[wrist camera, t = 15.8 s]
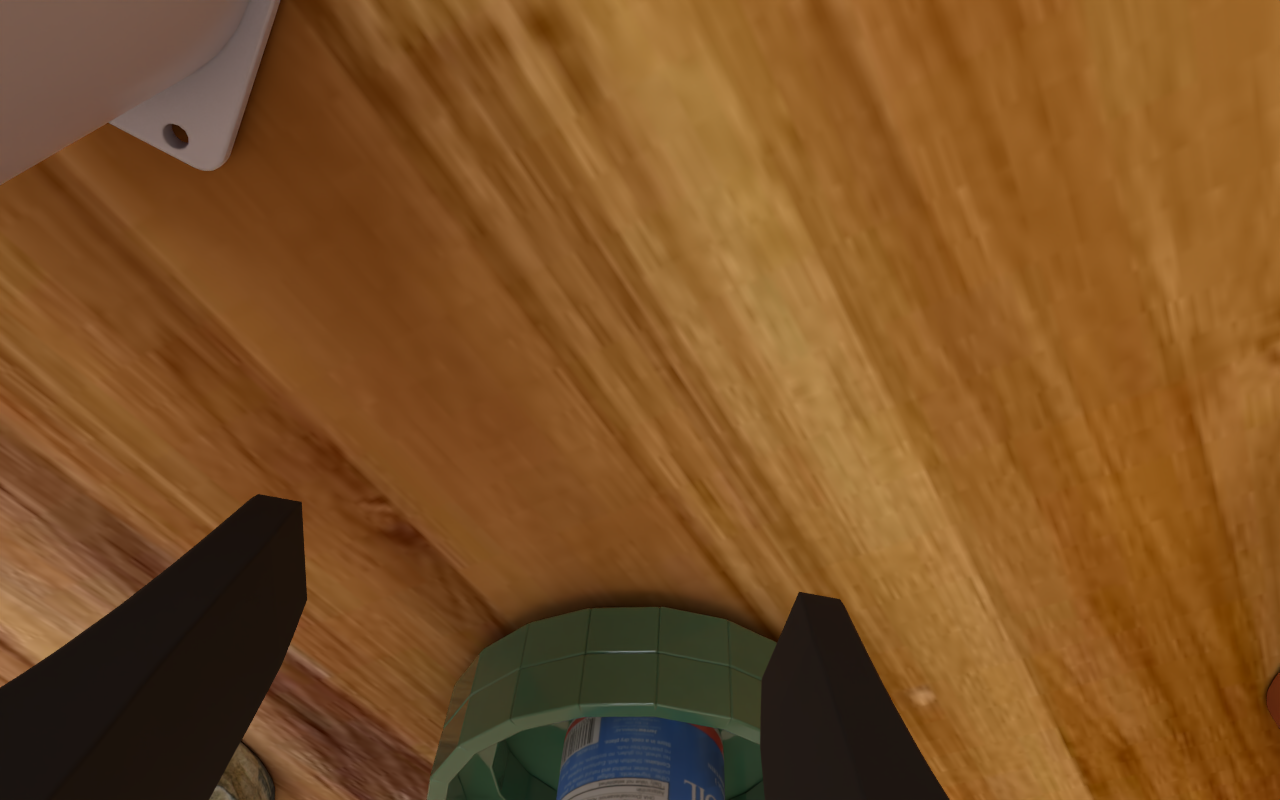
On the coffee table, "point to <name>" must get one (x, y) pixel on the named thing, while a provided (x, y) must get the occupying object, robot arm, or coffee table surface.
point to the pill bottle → (641, 760)
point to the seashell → (244, 779)
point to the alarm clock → (1274, 699)
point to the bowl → (599, 696)
